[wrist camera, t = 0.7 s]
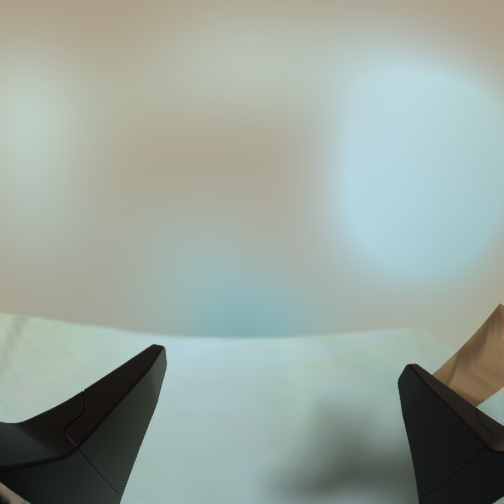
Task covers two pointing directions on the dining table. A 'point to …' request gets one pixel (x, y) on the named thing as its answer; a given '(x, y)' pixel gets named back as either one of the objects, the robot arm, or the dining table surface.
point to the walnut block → (478, 362)
